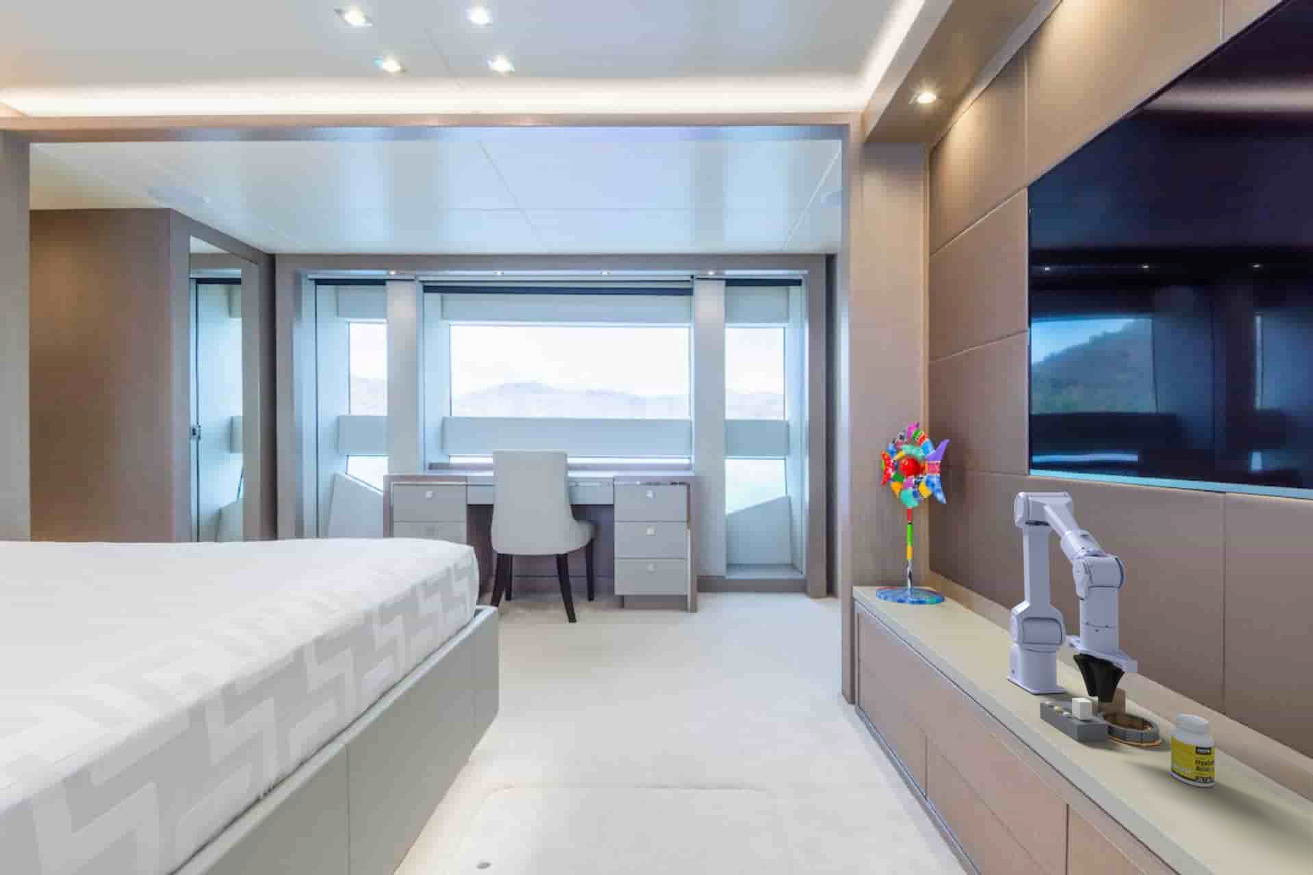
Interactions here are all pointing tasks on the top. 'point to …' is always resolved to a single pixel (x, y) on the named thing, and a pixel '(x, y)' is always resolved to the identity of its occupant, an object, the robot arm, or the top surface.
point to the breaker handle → (1082, 708)
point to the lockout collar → (1131, 728)
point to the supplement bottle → (1192, 751)
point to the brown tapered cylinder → (1114, 702)
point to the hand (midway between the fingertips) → (1100, 698)
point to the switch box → (1073, 722)
